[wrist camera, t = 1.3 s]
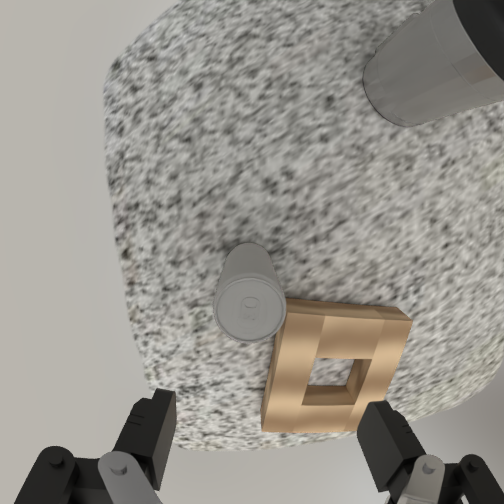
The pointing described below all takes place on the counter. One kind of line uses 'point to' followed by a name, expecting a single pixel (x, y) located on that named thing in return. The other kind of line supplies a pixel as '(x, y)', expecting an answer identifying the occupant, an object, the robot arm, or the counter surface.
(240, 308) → the beverage can
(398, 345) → the socket
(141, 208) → the counter surface
